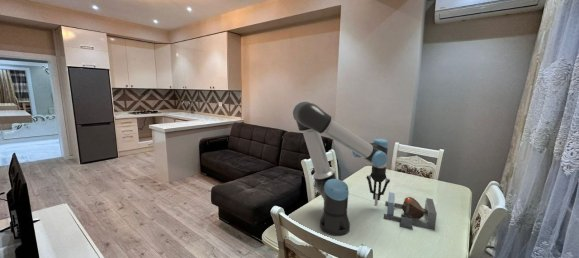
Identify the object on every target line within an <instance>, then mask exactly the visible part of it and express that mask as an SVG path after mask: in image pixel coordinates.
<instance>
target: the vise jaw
mask: <svg viewBox="0 0 579 258" xmlns="http://www.w3.org/2000/svg"><path fill="white" fill-rule="evenodd" d="M395 200H396V193H395V192H389V191H388V199H387V201H388V206H386V207H387V209H386V214H388V215H393V216H395V215H394V214H395V207H394V205H395V203H396V201H395Z"/></svg>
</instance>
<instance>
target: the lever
mask: <svg viewBox="0 0 579 258" xmlns="http://www.w3.org/2000/svg"><path fill="white" fill-rule="evenodd" d="M405 198H406V199H405ZM405 198H404V200H405V202H406V203H407V207H406V216H405V217H406V218H409V217H408V214H409V204H411V203H412V199H411V198H407V197H405Z"/></svg>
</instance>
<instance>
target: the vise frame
mask: <svg viewBox="0 0 579 258" xmlns="http://www.w3.org/2000/svg"><path fill="white" fill-rule="evenodd" d="M384 205H385V206H386V207H387V206H388V200H385V204H384ZM402 205H403V203H399V202H395V205H394V209H400V210H402V208H401V207H402ZM423 209H424V211H425V214H424V215H425V221H426V222H425V221H420V220H416V219H412V216H408V217H409V218H406V217H405V216H406V215H403V213H401V216H397V215H388V214H387V213H383V218H382V219H383V220H388V221H392V222H396V223H399V228H402V229H407V230H410V231H413V226H414V227H419V228H423V229H427V230H431V231H436V230H435V229H436V221H437V214H438V213H437V210H436V207H435V203H434V200H433V198H429V197H426V198H425V202H424V208H423Z"/></svg>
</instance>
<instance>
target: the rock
mask: <svg viewBox="0 0 579 258" xmlns="http://www.w3.org/2000/svg"><path fill="white" fill-rule="evenodd" d="M406 198H411V199H412V203H411V204H409V214H408V216H412V220H418V219H419V220H420V219H421V218H423V217H424V215H425V211H424V209H425V208H424V207H422V205H421V204H420V203H419V202H418V200H416V199H415V198H414V197H411V196H407V197H405V198H404V199H403V203H402V204H403V205H402V207H401V208H402V209H401V210H402V211H403V213H402V214H403V215H406V207H407V203H406V202H405V199H406Z"/></svg>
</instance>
